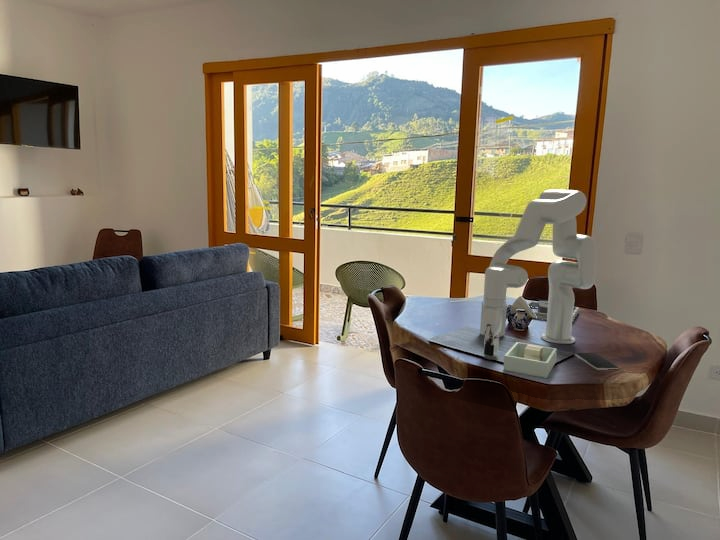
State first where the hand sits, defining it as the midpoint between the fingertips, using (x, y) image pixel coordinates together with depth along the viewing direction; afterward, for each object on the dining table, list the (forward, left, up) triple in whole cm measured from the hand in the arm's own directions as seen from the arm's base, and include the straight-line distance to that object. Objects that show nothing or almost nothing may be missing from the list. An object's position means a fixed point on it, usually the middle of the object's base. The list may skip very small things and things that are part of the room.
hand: (490, 352), depth 184 cm
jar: (-28, -7, -2) cm, 29 cm away
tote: (+2, +14, -2) cm, 14 cm away
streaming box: (-78, +9, -2) cm, 79 cm away
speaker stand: (-76, +7, -2) cm, 76 cm away
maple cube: (-2, +14, -1) cm, 14 cm away
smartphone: (-15, +33, -2) cm, 36 cm away
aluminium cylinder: (0, 0, -2) cm, 2 cm away
